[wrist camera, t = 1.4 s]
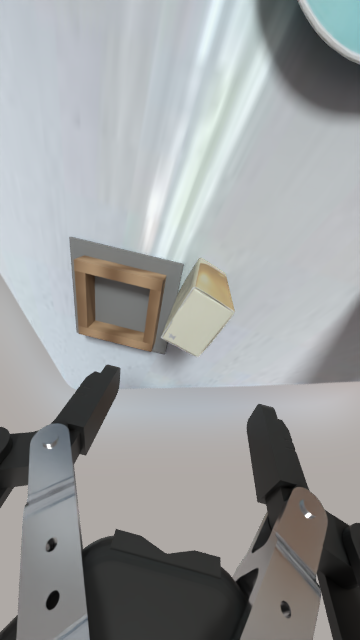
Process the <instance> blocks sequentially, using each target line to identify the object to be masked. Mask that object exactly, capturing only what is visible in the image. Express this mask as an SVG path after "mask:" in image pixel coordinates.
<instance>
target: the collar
mask: <svg viewBox="0 0 360 640" xmlns="http://www.w3.org/2000/svg"><path fill="white" fill-rule="evenodd" d="M74 272H75V286H76V301H77V315H78V329H79V334H82V335H86V336H90V337H94V338H98V339H102V340H106V341H110V342H114V343H118V344H122V345H126V346H130V347H134V348H138V349H142V350H146V351H150V352H151V351H152V349H153V346H154V344H155V340H156V334H157V329H158V323H159V317H160V311H161V305H162V299H163V294H164V288H165V282H166V276H167V275H163V274H159V273H155V272H151V271H147V270H142V269H138V268H134V267H130V266H126V265H122V264H118V263H114V262H109V261H105V260H101V259H97V258H93V257H89V256H85V255H84V256H81V257H79V258H76V259H74ZM95 276H99V277H103V278H107V279H111V280H115V281H119V282H123V283H127V284H132V285H136V286H140V287H144V288H148V289H150V294H149V301H148V309H147V316H146V324H145V331H144V332H140V331H136V330H132V329H128V328H124V327H120V326H116V325H112V324H108V323H104V322H100V321H96V320H95Z"/></svg>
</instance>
